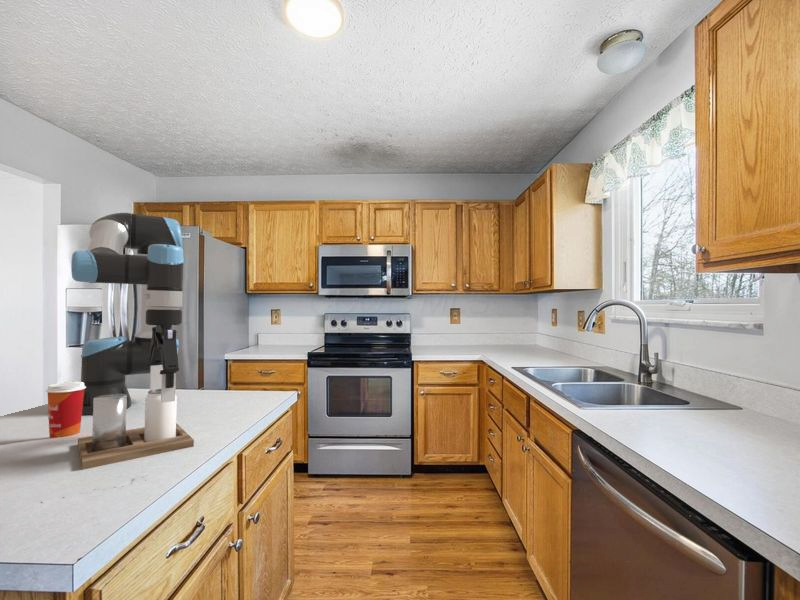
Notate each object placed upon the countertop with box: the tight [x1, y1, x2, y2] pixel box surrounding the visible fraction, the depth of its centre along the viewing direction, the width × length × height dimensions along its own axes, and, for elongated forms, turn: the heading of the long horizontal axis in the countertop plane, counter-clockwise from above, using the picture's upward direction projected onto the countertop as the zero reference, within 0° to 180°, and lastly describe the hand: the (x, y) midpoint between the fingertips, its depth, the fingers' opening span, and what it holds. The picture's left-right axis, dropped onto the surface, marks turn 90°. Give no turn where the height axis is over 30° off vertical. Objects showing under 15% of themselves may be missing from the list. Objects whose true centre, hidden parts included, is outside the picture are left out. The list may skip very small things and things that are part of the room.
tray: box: [77, 422, 195, 470], centre depth 89 cm, size 18×20×3 cm
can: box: [144, 389, 178, 442], centre depth 93 cm, size 6×6×12 cm
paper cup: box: [45, 381, 86, 439], centre depth 97 cm, size 8×8×14 cm
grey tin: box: [91, 394, 128, 452], centre depth 86 cm, size 6×6×12 cm
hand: (161, 396), depth 93 cm, fingers open, 13 cm apart
